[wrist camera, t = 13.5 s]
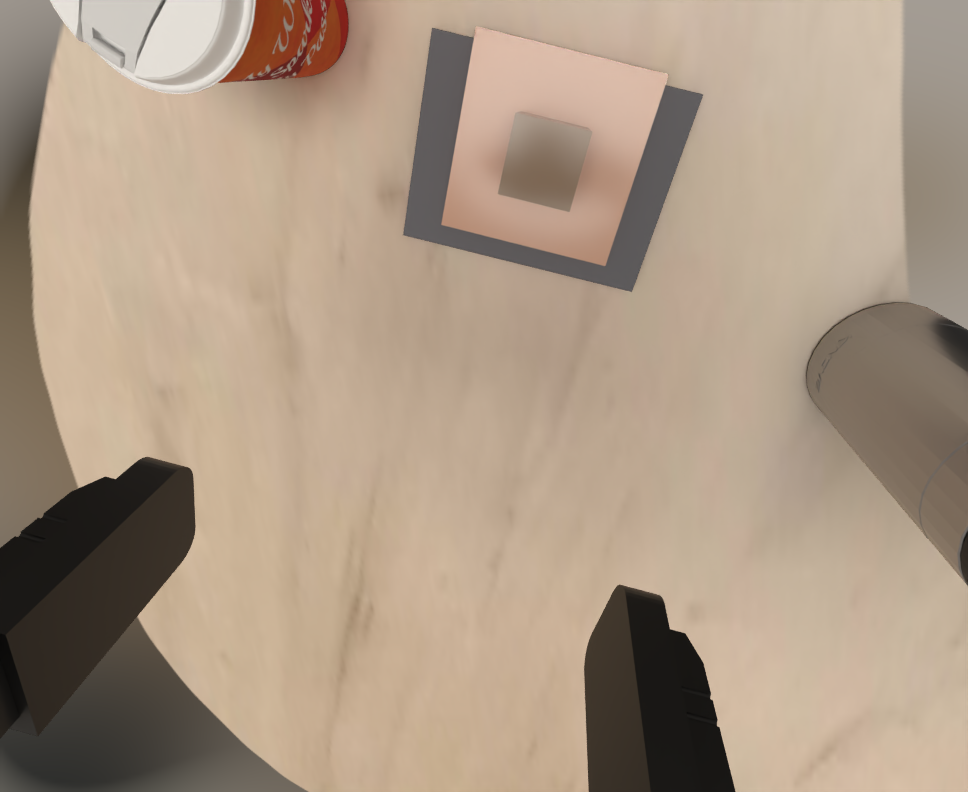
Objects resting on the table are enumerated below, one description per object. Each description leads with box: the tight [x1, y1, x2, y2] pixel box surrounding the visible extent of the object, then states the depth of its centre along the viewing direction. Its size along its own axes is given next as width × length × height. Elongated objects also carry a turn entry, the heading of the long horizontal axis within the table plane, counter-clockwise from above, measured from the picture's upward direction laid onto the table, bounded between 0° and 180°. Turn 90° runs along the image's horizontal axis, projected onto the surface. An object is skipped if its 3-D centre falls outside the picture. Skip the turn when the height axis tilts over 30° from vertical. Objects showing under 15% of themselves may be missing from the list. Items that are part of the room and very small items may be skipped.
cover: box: [441, 26, 669, 266], centre depth 31 cm, size 11×11×6 cm
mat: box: [403, 28, 703, 292], centre depth 35 cm, size 16×12×1 cm
